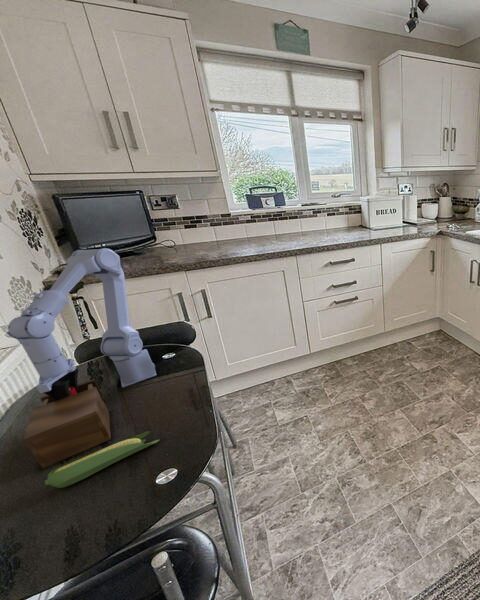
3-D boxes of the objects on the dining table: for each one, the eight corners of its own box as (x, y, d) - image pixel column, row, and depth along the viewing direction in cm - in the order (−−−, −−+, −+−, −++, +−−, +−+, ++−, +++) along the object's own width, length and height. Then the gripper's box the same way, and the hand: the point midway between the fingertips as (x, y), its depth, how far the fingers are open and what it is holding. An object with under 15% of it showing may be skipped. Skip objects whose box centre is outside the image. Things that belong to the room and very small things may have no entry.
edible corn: (53, 483, 72) (43, 468, 71) (160, 435, 84) (153, 421, 82) (50, 499, 69) (40, 483, 67) (162, 446, 80) (155, 432, 79)
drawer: (54, 410, 96) (42, 389, 94) (104, 391, 103) (94, 372, 101) (48, 443, 83) (34, 420, 81) (105, 420, 90) (94, 398, 88)
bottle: (67, 402, 92) (58, 386, 90) (83, 398, 94) (74, 382, 92) (61, 409, 89) (52, 393, 87) (78, 405, 91) (69, 388, 89)
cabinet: (48, 436, 87) (32, 409, 84) (109, 412, 95) (95, 386, 91) (42, 469, 77) (23, 439, 73) (110, 439, 84) (96, 411, 81)
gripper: (53, 366, 81) (77, 410, 86) (78, 342, 94) (98, 381, 99) (16, 374, 79) (42, 419, 84) (46, 349, 91) (68, 389, 96)
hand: (70, 399), depth 91 cm, fingers closed on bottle, 4 cm apart
